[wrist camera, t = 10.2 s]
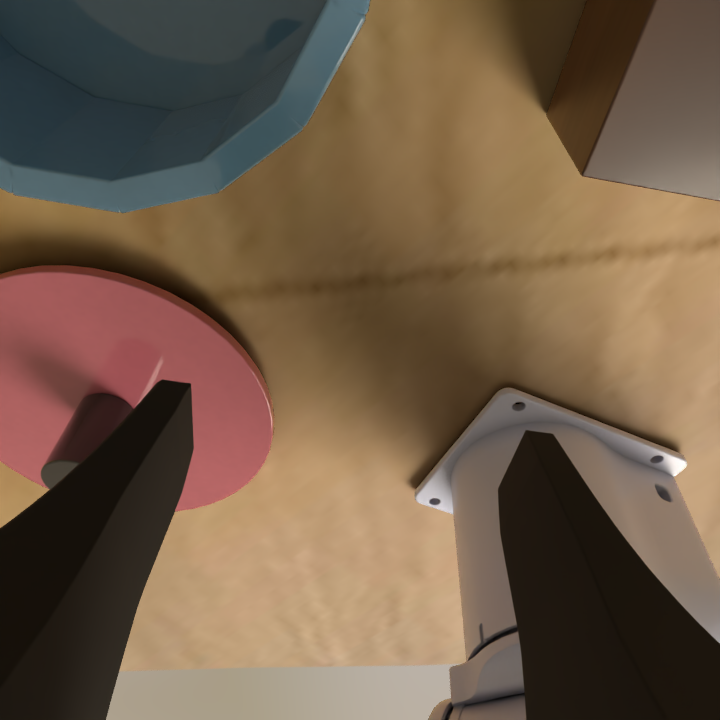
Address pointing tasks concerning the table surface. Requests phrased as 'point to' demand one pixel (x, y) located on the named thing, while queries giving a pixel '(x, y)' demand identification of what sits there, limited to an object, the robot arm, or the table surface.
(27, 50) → the bowl
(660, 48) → the block
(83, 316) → the lid
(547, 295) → the table surface
